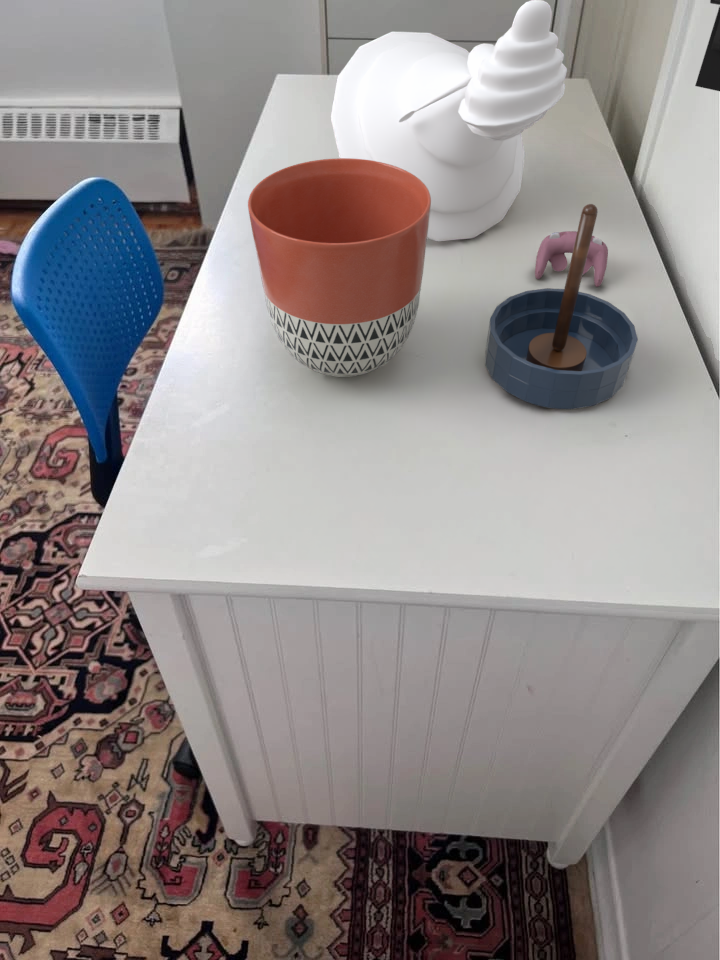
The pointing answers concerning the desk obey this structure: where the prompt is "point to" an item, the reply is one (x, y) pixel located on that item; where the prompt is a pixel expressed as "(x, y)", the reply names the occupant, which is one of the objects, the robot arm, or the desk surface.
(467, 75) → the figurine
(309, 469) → the desk surface
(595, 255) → the video game controller
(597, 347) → the bowl
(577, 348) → the masher
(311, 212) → the planter
